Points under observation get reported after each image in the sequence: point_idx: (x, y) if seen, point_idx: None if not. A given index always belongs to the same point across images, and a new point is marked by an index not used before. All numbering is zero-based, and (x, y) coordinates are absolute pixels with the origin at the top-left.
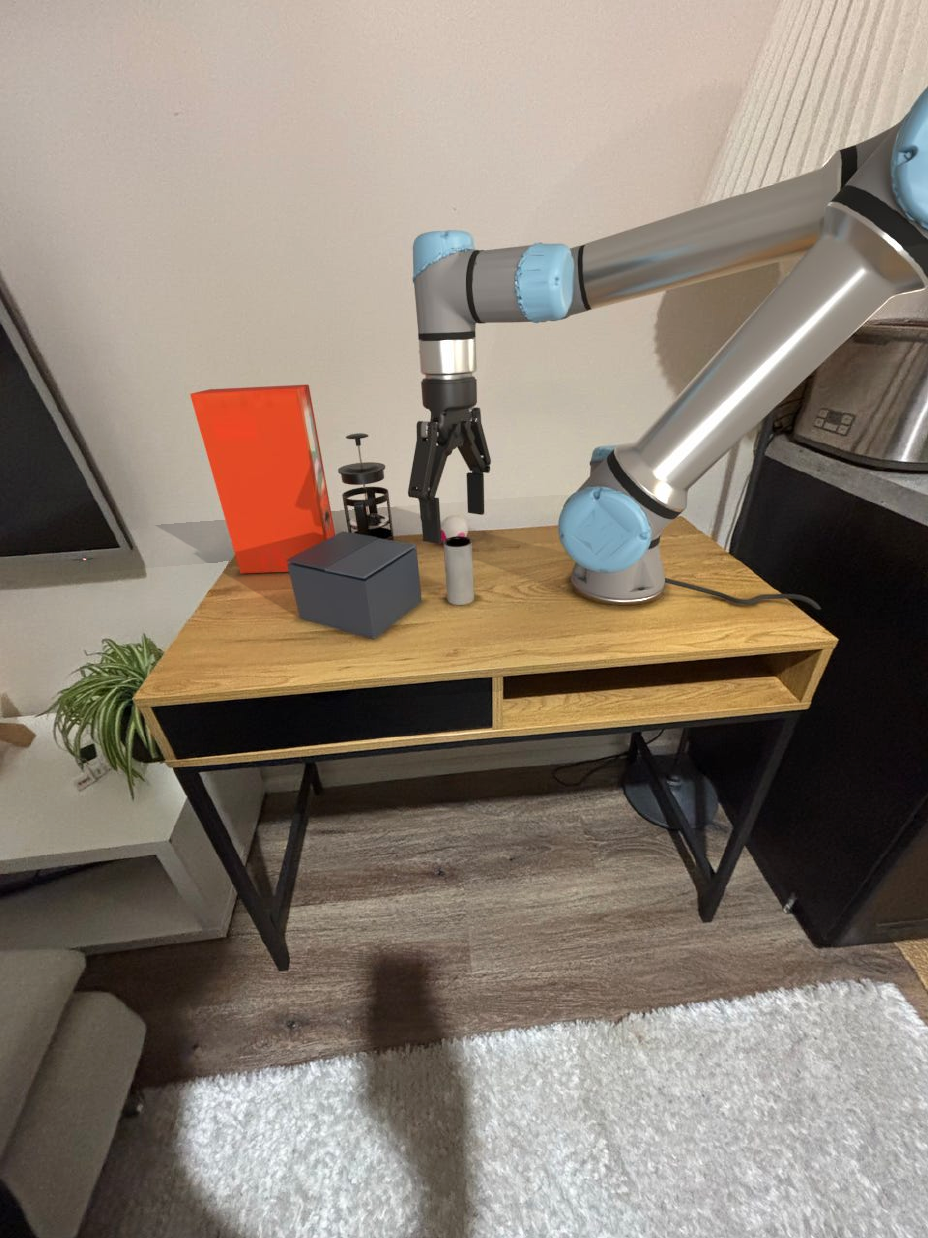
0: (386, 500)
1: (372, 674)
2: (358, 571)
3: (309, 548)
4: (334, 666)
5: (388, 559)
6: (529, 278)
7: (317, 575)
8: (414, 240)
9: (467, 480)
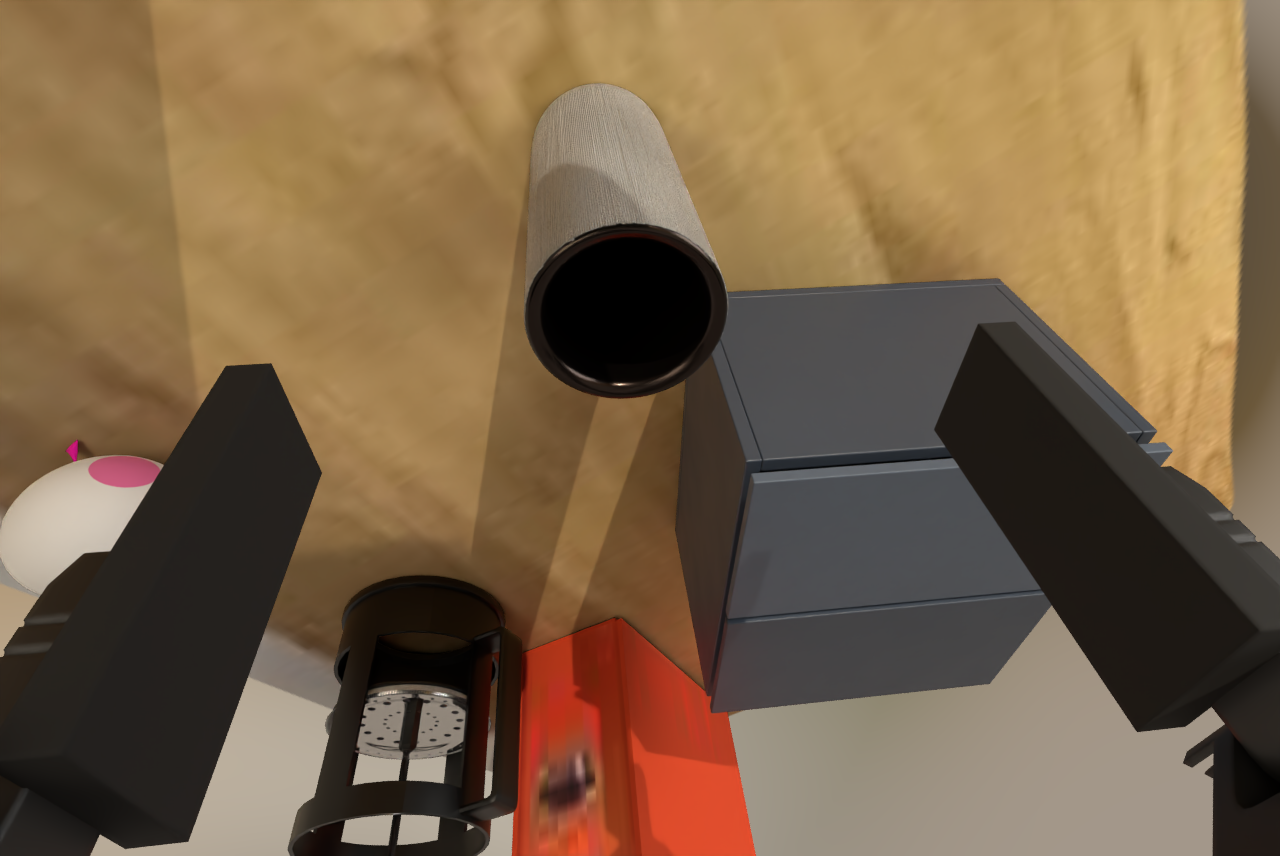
0: (354, 786)
1: (1230, 143)
2: None
3: (890, 693)
4: (1161, 284)
5: None
6: None
7: None
8: None
9: (218, 744)
